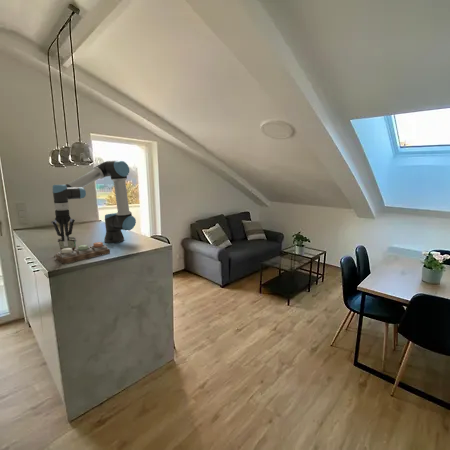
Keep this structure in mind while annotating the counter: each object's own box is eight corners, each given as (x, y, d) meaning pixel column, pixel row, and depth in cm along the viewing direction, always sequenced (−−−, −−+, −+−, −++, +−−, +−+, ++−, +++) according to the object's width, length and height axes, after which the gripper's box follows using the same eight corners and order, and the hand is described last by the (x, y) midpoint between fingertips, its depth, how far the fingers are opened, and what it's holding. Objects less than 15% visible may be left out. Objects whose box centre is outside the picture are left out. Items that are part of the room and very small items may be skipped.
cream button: (70, 250, 174) (70, 247, 174) (73, 252, 171) (73, 249, 170) (60, 252, 170) (59, 249, 170) (63, 254, 166) (63, 251, 166)
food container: (81, 250, 193) (79, 236, 191) (76, 252, 186) (75, 238, 185) (63, 250, 192) (62, 237, 190) (58, 252, 186) (57, 239, 184)
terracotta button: (100, 244, 189) (100, 241, 189) (104, 246, 185) (104, 243, 185) (92, 246, 185) (91, 243, 184) (95, 248, 181) (95, 244, 181)
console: (100, 249, 194) (100, 243, 193) (109, 253, 185) (109, 246, 184) (56, 259, 172) (55, 252, 171) (64, 263, 163) (63, 256, 162)
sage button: (86, 247, 182) (85, 244, 181) (89, 249, 178) (89, 245, 178) (76, 249, 177) (76, 246, 177) (80, 251, 174) (80, 247, 173)
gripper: (52, 211, 158) (56, 249, 162) (75, 209, 168) (79, 245, 172) (48, 209, 163) (52, 247, 167) (71, 208, 172) (74, 243, 177)
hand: (66, 246), depth 169 cm, fingers closed
